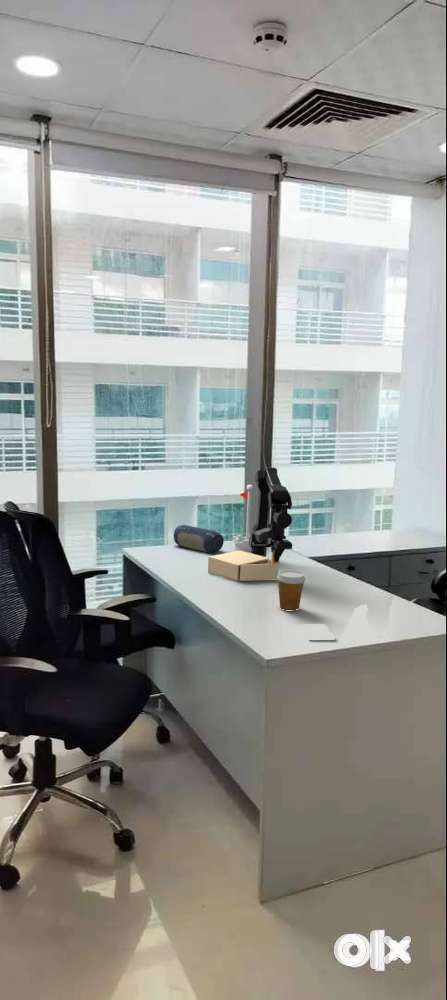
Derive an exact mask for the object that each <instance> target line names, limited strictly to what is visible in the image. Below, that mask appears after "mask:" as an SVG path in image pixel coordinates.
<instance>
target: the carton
mask: <svg viewBox="0 0 447 1000" xmlns="http://www.w3.org/2000/svg"><path fill="white" fill-rule="evenodd" d="M207 564H208V567H207V573H208V574H211V575H215V576H218V577H221V578H224V579H227V580H230V581H234V582H237V583H238V582H241V581H240V565H249V564H270V557H267V556H266V557H263V556H259V555H255V554H252V553H251V552H245V551H239V550H235V551H230V552H225V553H220V554H215V555H211V556H210V555H209V556H208V563H207Z"/></svg>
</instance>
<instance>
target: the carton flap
mask: <svg viewBox="0 0 447 1000" xmlns="http://www.w3.org/2000/svg"><path fill="white" fill-rule="evenodd" d="M270 557H271V560H270V563H269V564H249V565H240V581H239V582H247V581H266V580H267V581H268V580H269V581H270V580H278V579H277V576H278V573H279V572H280V559H279V560H278V562H276V563H275V562H274V552H272V553H271V556H270Z"/></svg>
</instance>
